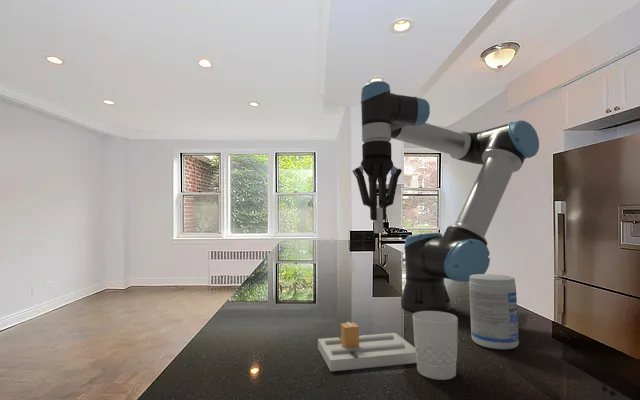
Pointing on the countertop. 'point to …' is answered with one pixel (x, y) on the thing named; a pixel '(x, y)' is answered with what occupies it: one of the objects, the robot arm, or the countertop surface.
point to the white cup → (436, 344)
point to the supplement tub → (493, 311)
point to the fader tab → (349, 335)
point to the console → (367, 352)
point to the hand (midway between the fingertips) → (378, 233)
